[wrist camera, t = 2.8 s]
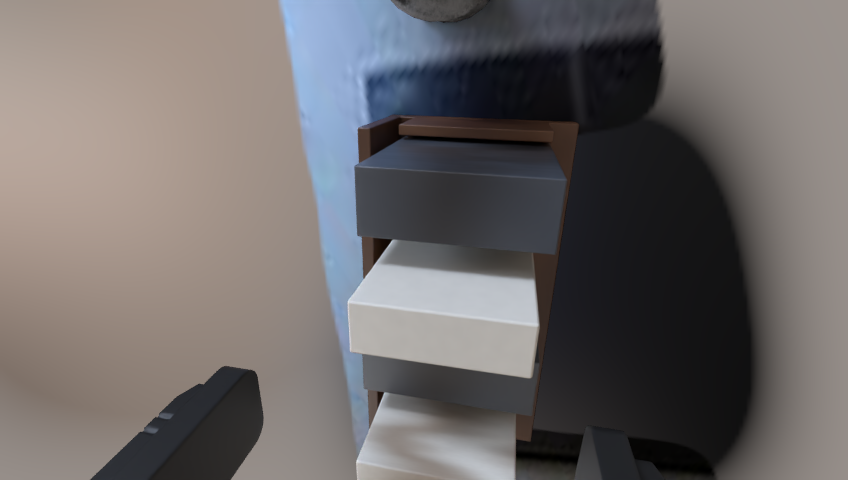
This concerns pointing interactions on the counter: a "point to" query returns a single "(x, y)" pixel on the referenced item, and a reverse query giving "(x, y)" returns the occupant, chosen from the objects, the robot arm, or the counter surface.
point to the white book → (449, 308)
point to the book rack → (463, 226)
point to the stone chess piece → (441, 9)
